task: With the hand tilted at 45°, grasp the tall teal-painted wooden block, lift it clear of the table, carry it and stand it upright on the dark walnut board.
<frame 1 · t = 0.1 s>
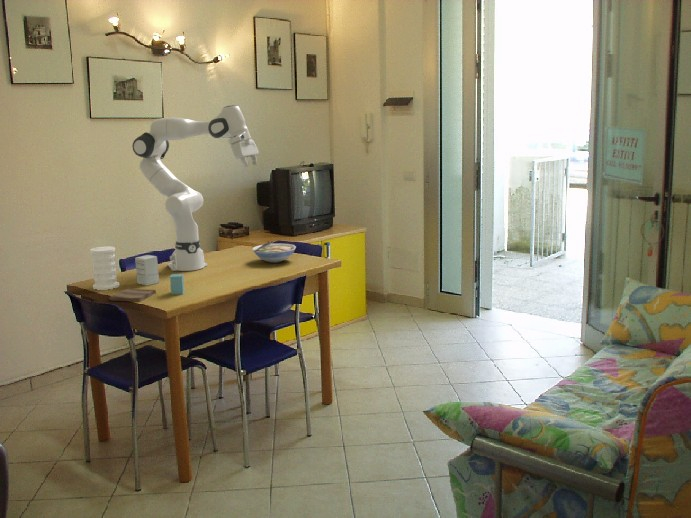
hand: (251, 165, 332), 52 cm above the table, tool tilted 20°, fingers open, 8 cm apart
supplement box: (148, 283, 325), on the table
walnut board: (133, 296, 302), on the table
ramen bowl: (274, 261, 366), on the table
teal block: (177, 292, 306), on the table
decorative container: (106, 287, 320), on the table
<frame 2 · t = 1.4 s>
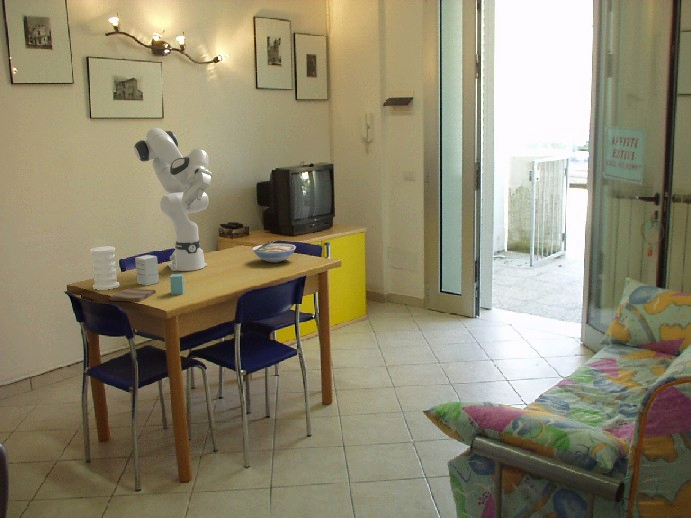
hand: (193, 204, 306), 38 cm above the table, tool tilted 45°, fingers open, 8 cm apart
nothing on the table moved.
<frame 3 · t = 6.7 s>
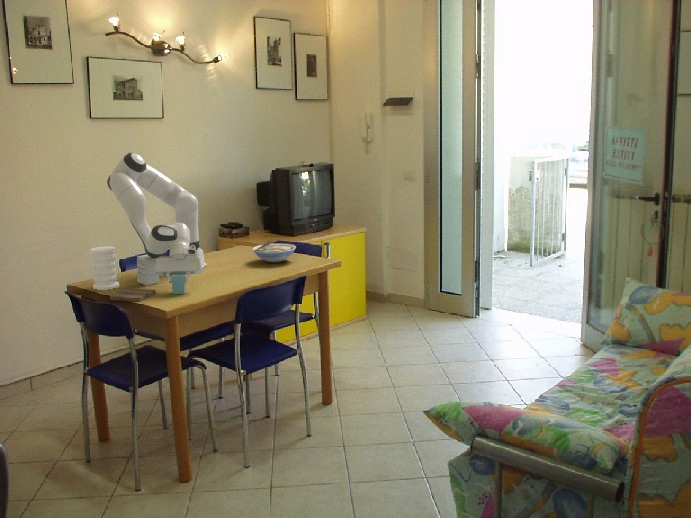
hand: (178, 282, 304), 5 cm above the table, tool tilted 45°, fingers closed on teal block, 5 cm apart
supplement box: (148, 282, 325), on the table, touching arm
teal block: (179, 292, 306), on the table, touching gripper
everything else where it was.
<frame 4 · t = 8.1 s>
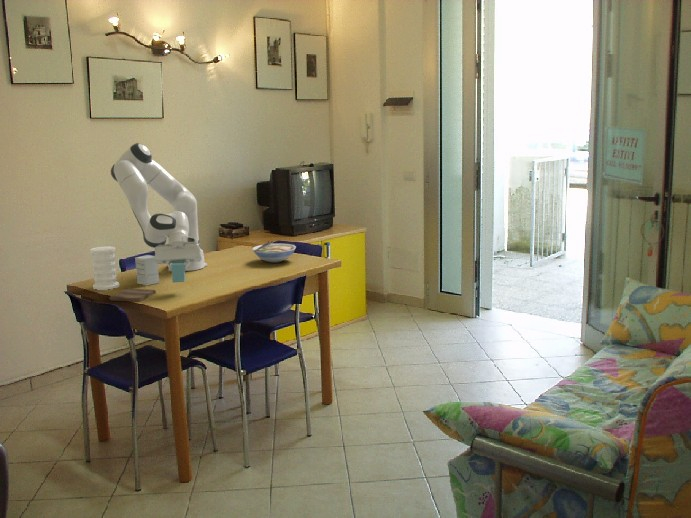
hand: (178, 270, 304), 10 cm above the table, tool tilted 45°, fingers closed on teal block, 5 cm apart
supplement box: (148, 283, 325), on the table
teal block: (179, 280, 306), point 5 cm above the table, touching gripper
everything else where it was.
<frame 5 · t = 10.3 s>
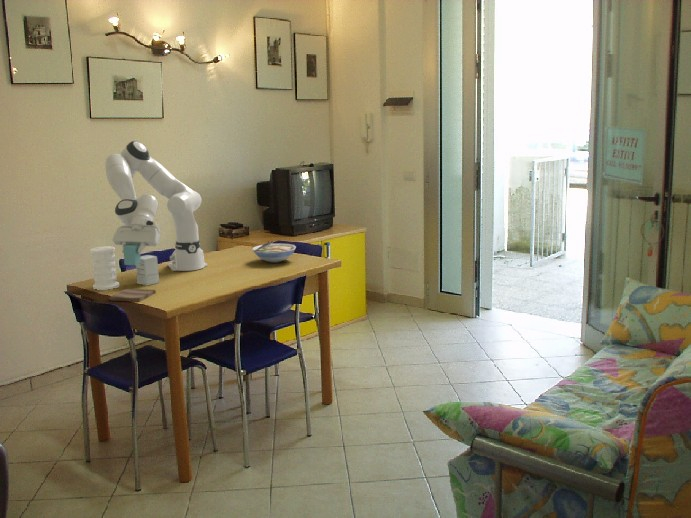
hand: (131, 252, 297), 20 cm above the table, tool tilted 45°, fingers closed on teal block, 5 cm apart
teal block: (132, 263, 299), point 15 cm above the table, touching gripper
everything else where it was.
when the fingers open (8 cm above the table, at t = 14.0 s): teal block drops 2 cm, resting on walnut board.
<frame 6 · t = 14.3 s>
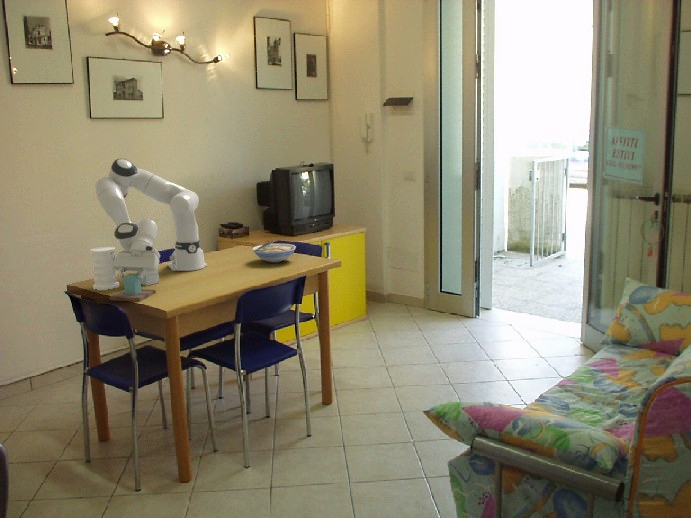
hand: (130, 278, 299), 8 cm above the table, tool tilted 45°, fingers open, 8 cm apart
teal block: (133, 293, 302), point 1 cm above the table, touching walnut board
everything else where it was.
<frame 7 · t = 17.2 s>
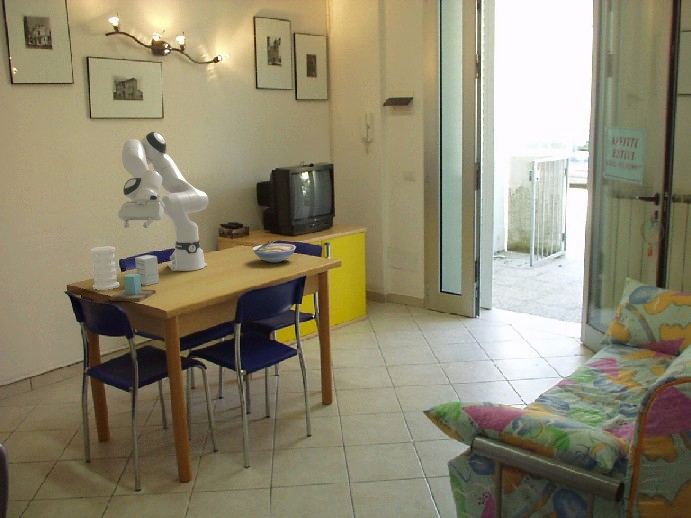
hand: (135, 227, 302), 30 cm above the table, tool tilted 45°, fingers open, 8 cm apart
nothing on the table moved.
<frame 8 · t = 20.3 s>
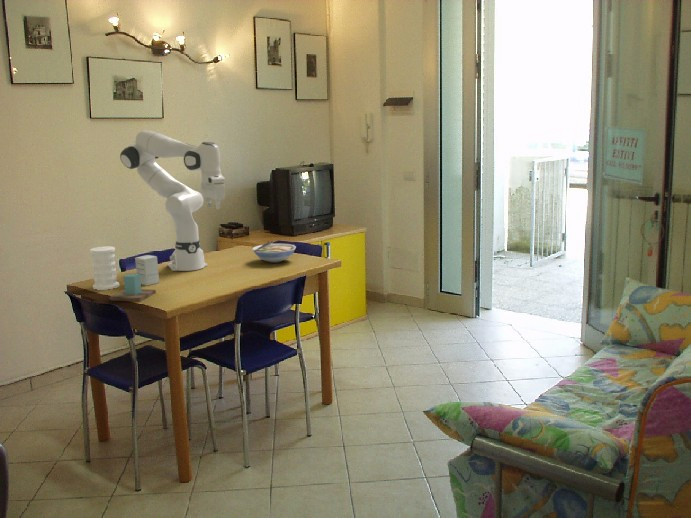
hand: (213, 208, 322), 34 cm above the table, tool pointing down, fingers open, 8 cm apart
nothing on the table moved.
at the end: teal block inside the target area on the walnut board (0.3 cm from its centre), point 1.5 cm above the walnut board's base; teal block tilted 0°; the gripper is holding nothing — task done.
